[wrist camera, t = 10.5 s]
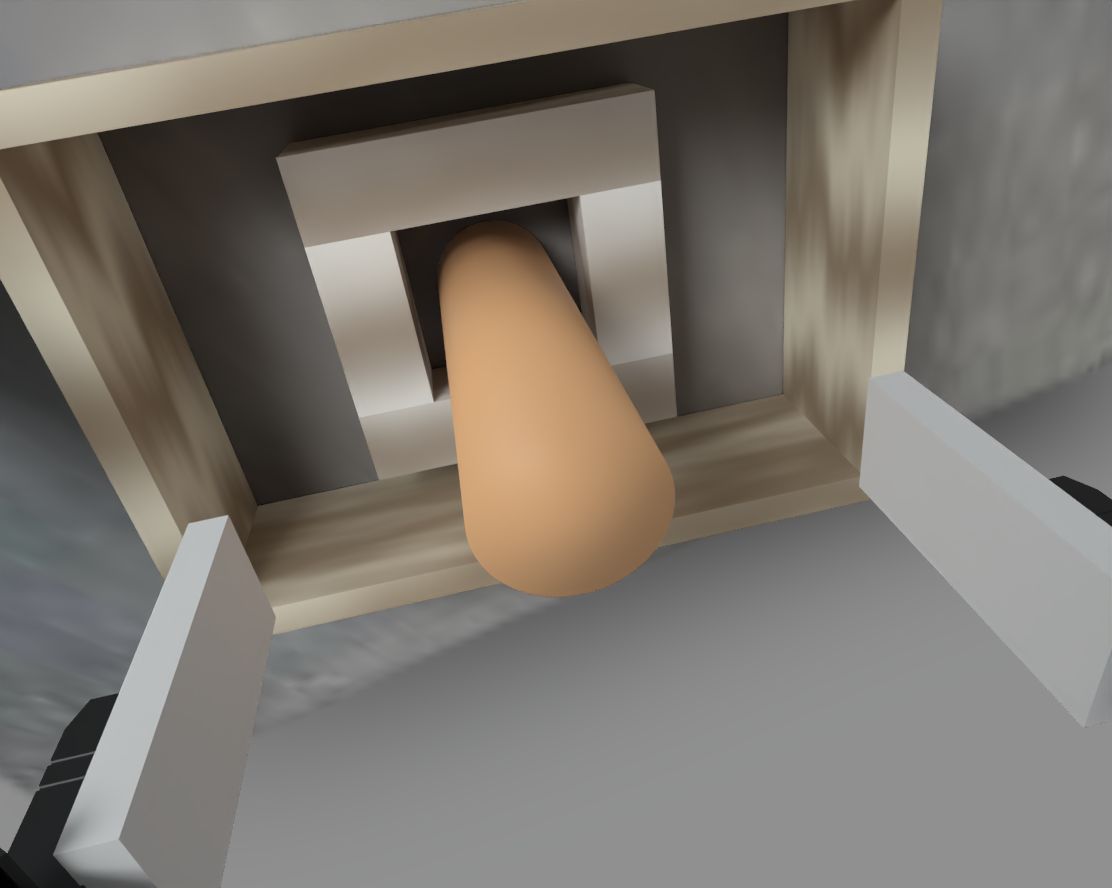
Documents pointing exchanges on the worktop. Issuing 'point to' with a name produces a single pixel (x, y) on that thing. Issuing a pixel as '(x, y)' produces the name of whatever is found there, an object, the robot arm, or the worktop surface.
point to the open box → (456, 192)
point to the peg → (542, 425)
